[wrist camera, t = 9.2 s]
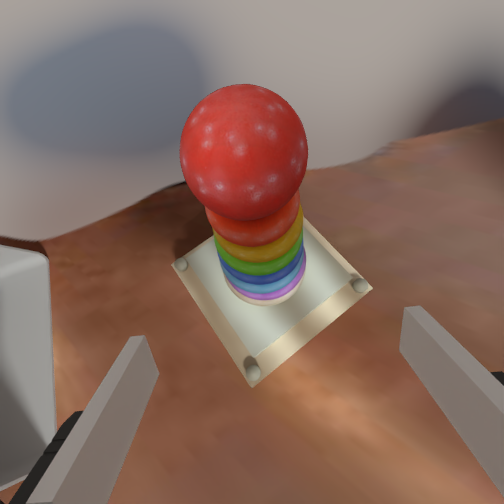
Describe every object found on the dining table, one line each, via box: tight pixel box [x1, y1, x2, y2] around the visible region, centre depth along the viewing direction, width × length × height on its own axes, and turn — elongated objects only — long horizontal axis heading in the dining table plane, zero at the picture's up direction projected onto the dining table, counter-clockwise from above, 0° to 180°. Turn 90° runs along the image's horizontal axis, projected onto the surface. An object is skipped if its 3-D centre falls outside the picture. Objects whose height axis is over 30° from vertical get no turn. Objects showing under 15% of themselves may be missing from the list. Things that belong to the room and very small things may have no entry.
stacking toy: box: [180, 84, 308, 306], centre depth 17 cm, size 8×8×19 cm
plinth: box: [171, 217, 373, 388], centre depth 28 cm, size 16×16×6 cm
